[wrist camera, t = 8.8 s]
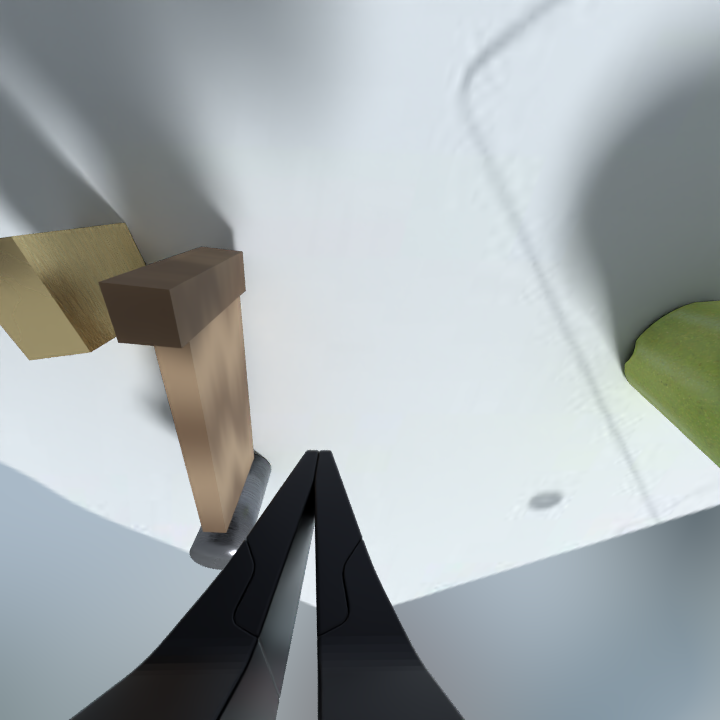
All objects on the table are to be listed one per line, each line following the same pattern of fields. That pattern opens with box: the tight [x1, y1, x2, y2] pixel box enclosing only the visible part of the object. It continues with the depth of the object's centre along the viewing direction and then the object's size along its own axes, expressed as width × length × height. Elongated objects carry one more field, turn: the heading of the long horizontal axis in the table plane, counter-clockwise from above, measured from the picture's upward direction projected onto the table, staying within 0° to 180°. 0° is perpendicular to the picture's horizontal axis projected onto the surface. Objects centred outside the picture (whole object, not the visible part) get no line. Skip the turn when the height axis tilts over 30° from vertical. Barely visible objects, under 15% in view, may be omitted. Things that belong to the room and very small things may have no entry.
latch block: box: [0, 223, 146, 360], centre depth 12 cm, size 2×4×5 cm, turn 7°
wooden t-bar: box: [98, 247, 254, 533], centre depth 14 cm, size 14×2×6 cm, turn 173°
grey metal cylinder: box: [190, 454, 271, 570], centre depth 19 cm, size 3×3×6 cm
